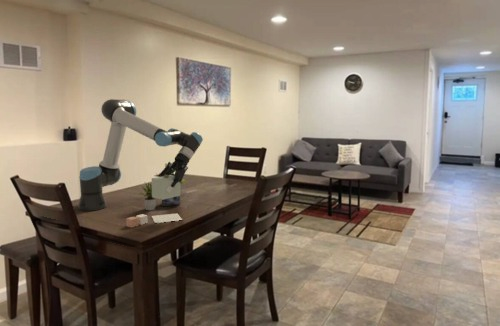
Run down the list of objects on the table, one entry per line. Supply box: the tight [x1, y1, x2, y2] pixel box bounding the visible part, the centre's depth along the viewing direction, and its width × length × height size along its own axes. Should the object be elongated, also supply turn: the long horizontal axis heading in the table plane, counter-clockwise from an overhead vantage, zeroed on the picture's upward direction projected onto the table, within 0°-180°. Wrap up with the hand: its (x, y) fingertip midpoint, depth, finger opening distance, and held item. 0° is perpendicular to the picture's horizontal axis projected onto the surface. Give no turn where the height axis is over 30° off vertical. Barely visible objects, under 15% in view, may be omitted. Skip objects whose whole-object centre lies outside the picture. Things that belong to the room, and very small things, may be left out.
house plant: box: [138, 181, 157, 211], centre depth 210 cm, size 14×14×16 cm
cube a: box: [135, 213, 148, 226], centre depth 184 cm, size 4×4×4 cm
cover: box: [151, 174, 182, 201], centre depth 189 cm, size 12×8×11 cm
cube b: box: [125, 216, 139, 228], centre depth 179 cm, size 4×4×4 cm
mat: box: [151, 213, 183, 224], centre depth 192 cm, size 14×13×1 cm
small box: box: [161, 196, 181, 207], centre depth 220 cm, size 11×6×10 cm, turn 106°
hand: (161, 190), depth 187 cm, fingers closed on cover, 8 cm apart
